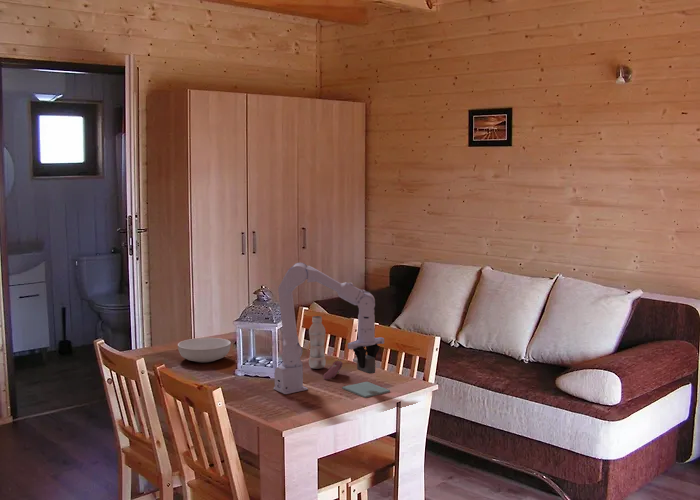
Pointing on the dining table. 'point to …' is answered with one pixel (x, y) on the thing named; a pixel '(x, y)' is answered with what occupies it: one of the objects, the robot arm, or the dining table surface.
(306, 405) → the dining table surface
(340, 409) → the dining table surface
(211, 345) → the serving bowl
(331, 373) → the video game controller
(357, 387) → the rubber mat
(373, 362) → the connector plug
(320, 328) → the plastic bottle
